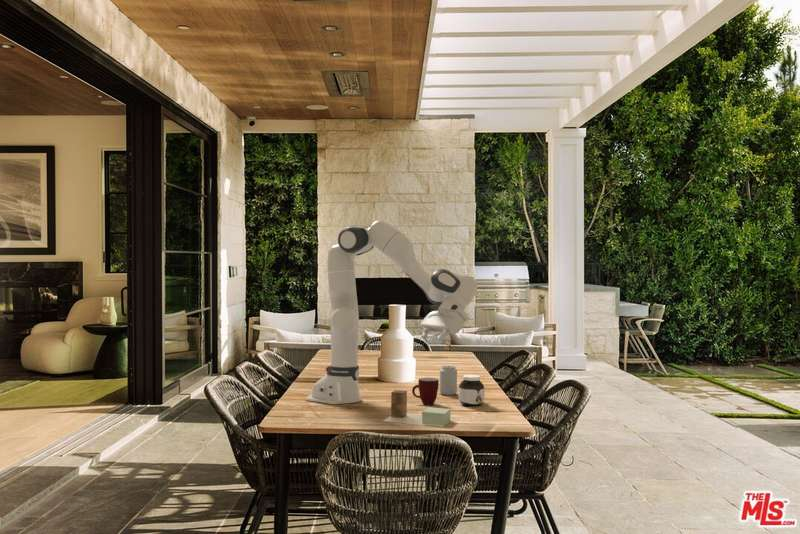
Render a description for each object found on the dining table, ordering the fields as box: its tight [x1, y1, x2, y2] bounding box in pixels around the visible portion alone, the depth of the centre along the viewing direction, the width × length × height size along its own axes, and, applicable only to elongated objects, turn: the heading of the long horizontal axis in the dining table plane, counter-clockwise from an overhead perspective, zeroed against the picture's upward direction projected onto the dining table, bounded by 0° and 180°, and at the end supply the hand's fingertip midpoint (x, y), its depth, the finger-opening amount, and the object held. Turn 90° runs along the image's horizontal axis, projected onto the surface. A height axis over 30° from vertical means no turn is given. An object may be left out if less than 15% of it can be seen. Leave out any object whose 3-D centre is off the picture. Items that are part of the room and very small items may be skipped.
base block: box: [421, 407, 451, 426], centre depth 240 cm, size 8×8×4 cm
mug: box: [411, 377, 440, 406], centre depth 275 cm, size 10×8×10 cm
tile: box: [382, 412, 454, 428], centre depth 244 cm, size 22×15×1 cm
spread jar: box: [457, 374, 486, 408], centre depth 277 cm, size 12×11×12 cm
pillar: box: [390, 389, 408, 418], centre depth 248 cm, size 4×4×9 cm
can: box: [439, 365, 458, 396], centre depth 296 cm, size 8×8×12 cm
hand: (430, 339), depth 256 cm, fingers open, 8 cm apart
